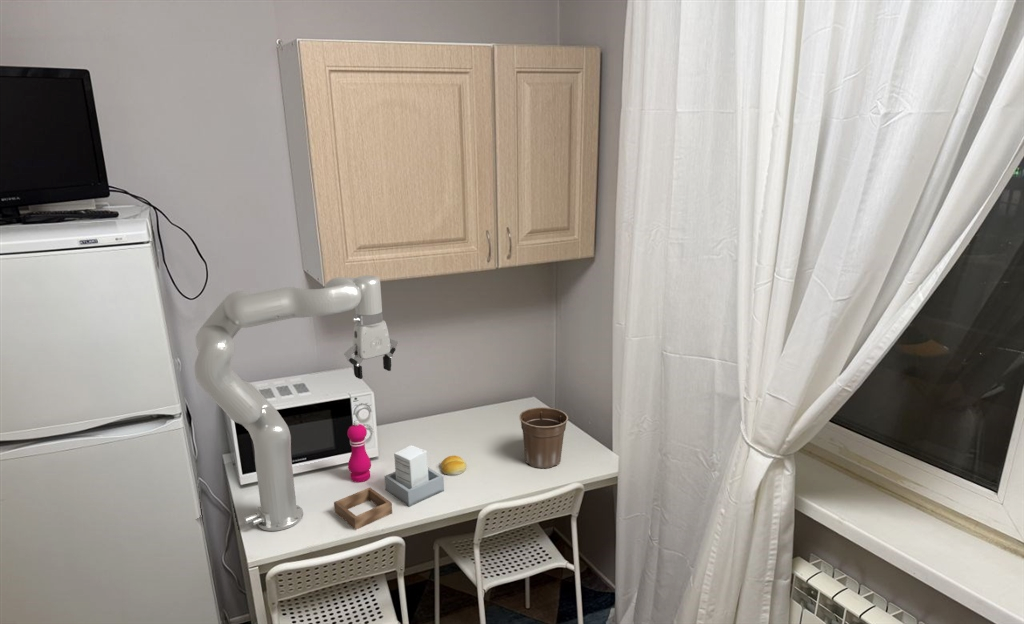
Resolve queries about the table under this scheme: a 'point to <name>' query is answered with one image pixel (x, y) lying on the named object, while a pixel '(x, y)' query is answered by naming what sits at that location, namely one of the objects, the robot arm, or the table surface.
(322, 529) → the table surface
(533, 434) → the plant pot
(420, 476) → the supplement box
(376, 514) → the walnut frame
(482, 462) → the table surface
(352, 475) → the pepper mill
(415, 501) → the grey bin
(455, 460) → the bread roll
